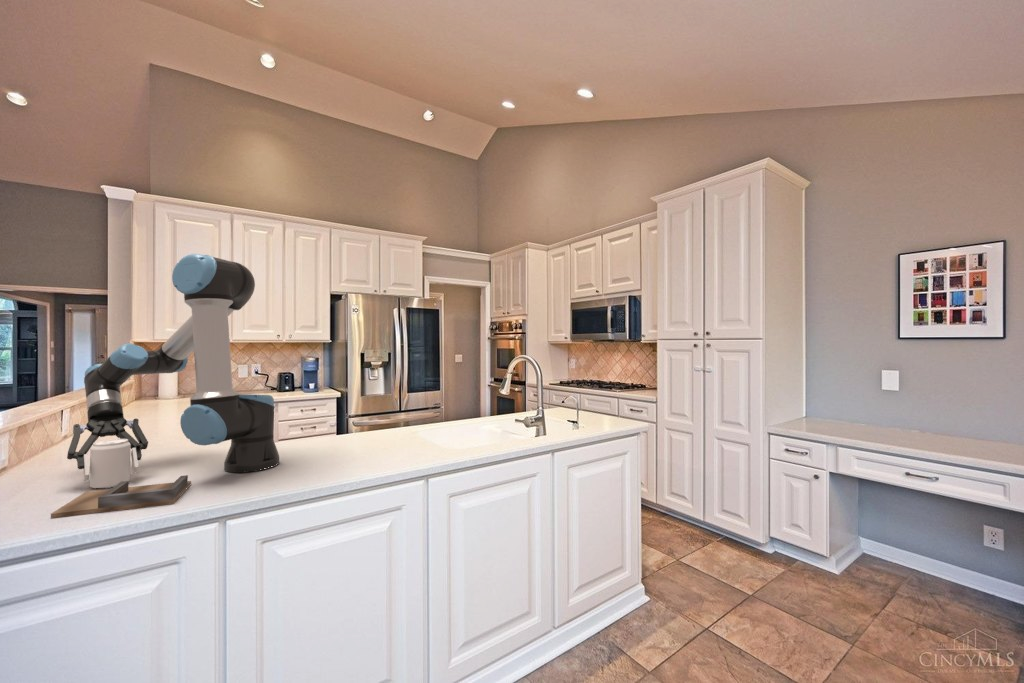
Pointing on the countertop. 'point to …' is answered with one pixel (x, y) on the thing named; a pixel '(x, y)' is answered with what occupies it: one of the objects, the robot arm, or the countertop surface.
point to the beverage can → (109, 463)
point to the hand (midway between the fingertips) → (112, 473)
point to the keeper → (124, 498)
